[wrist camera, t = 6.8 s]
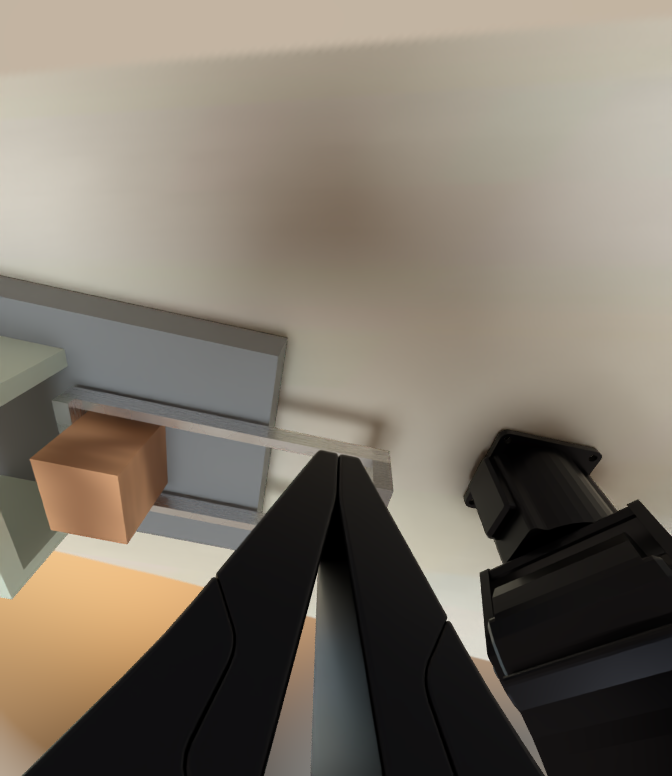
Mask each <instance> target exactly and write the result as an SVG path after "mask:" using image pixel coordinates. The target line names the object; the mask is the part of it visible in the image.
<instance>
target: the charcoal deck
mask: <svg viewBox="0 0 672 776" xmlns="http://www.w3.org/2000/svg"><path fill="white" fill-rule="evenodd" d="M0 336H4V337H9V338H13V339H18V340H23V341H28V342H32V343H37V344H42V345H47V346H51V347H56V348H61V349H64V350H65V355H66V360H67V365H68V366H67V367H65V368H64V369H62V370H61V371H59V372H57V373H56V374H54V375H52V376H51V377H49V378H47V379H46V380H44V381H42V382H41V383H39V384H37V385H36V386H34V387H32V388H31V389H29V390H27V391H26V392H24V393H22V394H21V395H19V396H17V397H16V398H14V399H12V400H11V401H9V402H7V403H6V404H4V405H2V406H1V407H0V475H4V476H9V477H15V478H20V479H25V480H30V481H35V482H36V479H35V475H34V472H33V469H32V465H31V462H30V458H31V457H32V456H34V455H35V454H36V453H37V452H38V451H40V450H41V449H42V448H43V447H45V446H46V445H47V444H48V443H50V442H51V441H52V440H53V439H54V438H56V437H57V436H58V435H59V430H58V426H57V422H56V418H55V413H54V409H53V405H52V400H53V399H55V398H56V397H57V396H59V395H60V394H62V393H63V392H65V391H66V390H68V389H69V388H71V387H72V386H75V387H80V388H84V389H89V390H94V391H99V392H104V393H109V394H114V395H118V396H123V397H128V398H133V399H138V400H143V401H148V402H152V403H157V404H162V405H167V406H172V407H177V408H181V409H186V410H191V411H196V412H201V413H206V414H211V415H215V416H220V417H225V418H230V419H235V420H240V421H244V422H249V423H254V424H259V425H264V426H269V427H275V420H276V413H277V406H278V399H279V393H280V386H281V379H282V372H283V365H284V359H285V352H286V345H287V338H285V337H280V336H276V335H271V334H266V333H262V332H257V331H253V330H248V329H243V328H239V327H234V326H230V325H225V324H220V323H216V322H211V321H207V320H202V319H197V318H193V317H188V316H184V315H179V314H175V313H170V312H165V311H161V310H156V309H152V308H147V307H142V306H138V305H133V304H129V303H124V302H119V301H115V300H110V299H106V298H101V297H96V296H92V295H87V294H83V293H78V292H74V291H69V290H64V289H60V288H55V287H51V286H46V285H41V284H37V283H32V282H28V281H23V280H18V279H14V278H9V277H5V276H0ZM165 429H166V452H167V475H168V484H167V485H166V487H165V488H164V490H163V491H162V493H163V494H168V495H173V496H178V497H183V498H188V499H193V500H199V501H204V502H209V503H214V504H219V505H224V506H229V507H234V508H240V509H245V510H250V511H255V512H260V513H262V508H263V501H264V495H265V488H266V481H267V474H268V467H269V461H270V454H271V448H269V447H264V446H259V445H255V444H250V443H245V442H240V441H235V440H230V439H225V438H220V437H215V436H210V435H205V434H201V433H196V432H191V431H186V430H181V429H176V428H171V427H166V426H165ZM136 531H137V532H142V533H148V534H153V535H158V536H163V537H169V538H174V539H179V540H184V541H190V542H195V543H200V544H206V545H211V546H216V547H221V548H227V549H232V550H236V549H237V548H238V547H239V545H240V544H241V543H242V542H243V541H244V539H245V538H246V537H247V536H248V534H249V533H250V532H251V531H250V530H245V529H240V528H235V527H230V526H224V525H219V524H214V523H209V522H204V521H199V520H193V519H188V518H183V517H178V516H173V515H167V514H162V513H157V512H152V511H149V512H148V514H147V515H146V517H145V518H144V520H143V521H142V523H141V524H140V526H139V527H138V529H137V530H136Z"/></svg>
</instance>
